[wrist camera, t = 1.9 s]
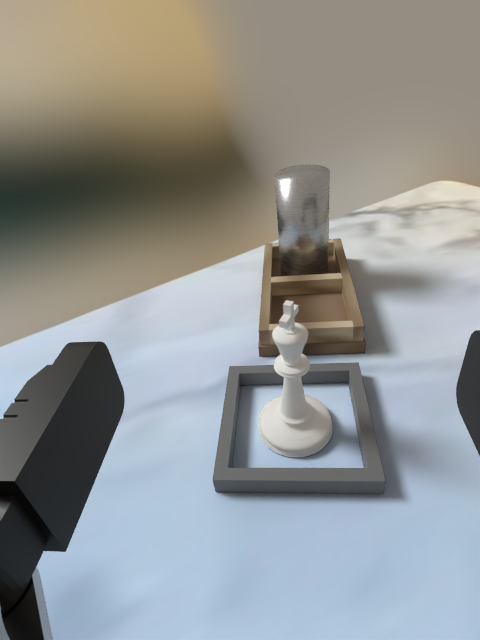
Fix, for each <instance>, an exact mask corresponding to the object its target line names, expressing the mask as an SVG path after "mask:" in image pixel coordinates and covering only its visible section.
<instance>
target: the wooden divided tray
mask: <svg viewBox="0 0 480 640" xmlns="http://www.w3.org/2000/svg"><path fill="white" fill-rule="evenodd" d="M286 300H288V301H293V302H294V304H295V305H298V310H299V312H298V313H297V315H296V316H295V318H294V320H295V322H296V323H299V324H302V325H303V326H305V327H306V329H307V330H308V338H307V341H306V344H305V345H304V348H303V352H302V354H304V355H311V354H342V353H365V339H364V323H363V319H362V316H361V312H360V308H359V305H358V301H357V297H356V294H355V290H354V286H353V283H352V279H351V275H350V272H349V268H348V264H347V260H346V257H345V253H344V249H343V246H342V242H341V239H329V255H328V274H314V275H297V276H281V267H280V251H279V243H269V244H265V252H264V266H263V280H262V294H261V308H260V322H259V355H260V356H279V355H280V352H279V349H278V347H277V346H276V344H275V342H274V340H273V337H272V332H273V330H274V329H275V328H276V327H277V326H278V325H279V320H280V319H281V317H282V316H283V314H284V313H283V304H284V302H285V301H286Z"/></svg>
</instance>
